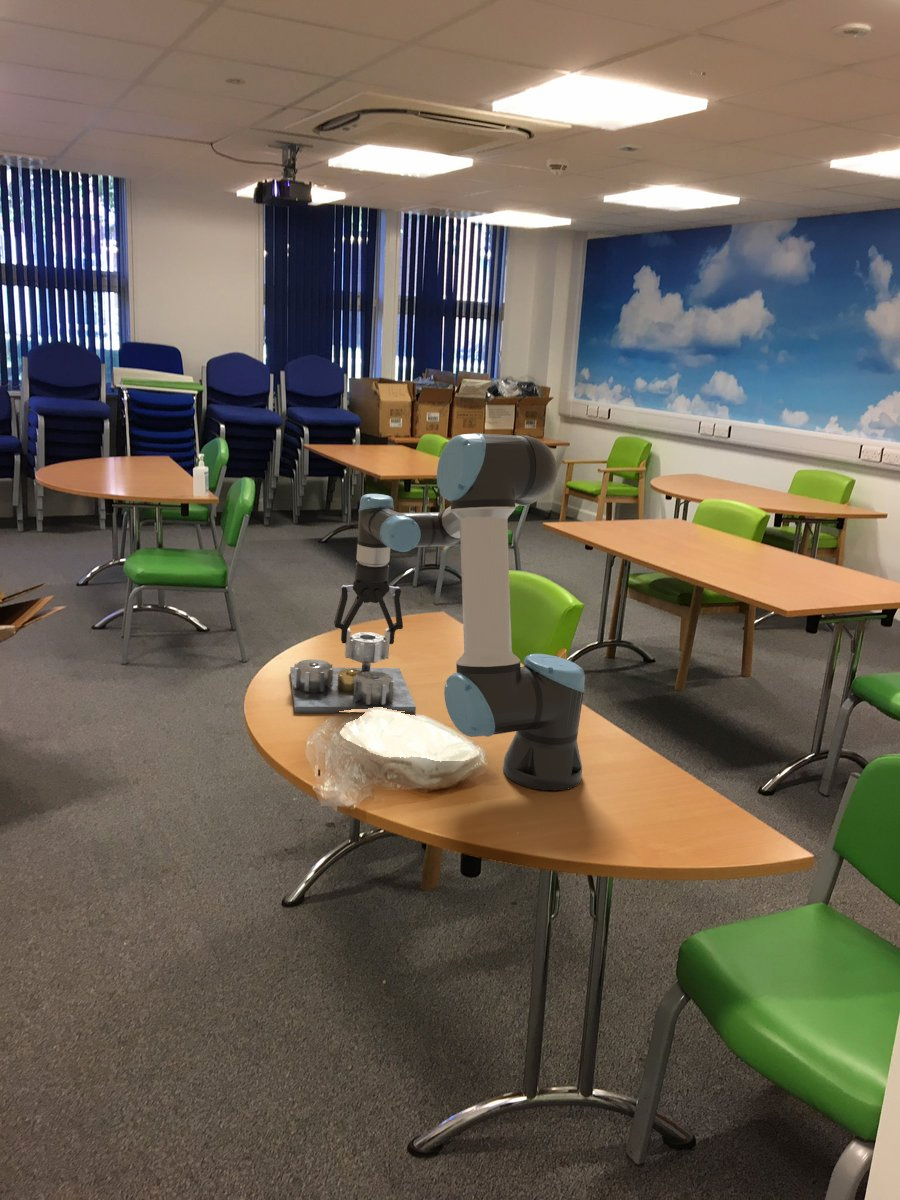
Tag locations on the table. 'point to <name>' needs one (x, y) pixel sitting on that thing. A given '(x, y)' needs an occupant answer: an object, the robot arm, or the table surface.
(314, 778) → the table surface
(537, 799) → the table surface
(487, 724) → the robot arm
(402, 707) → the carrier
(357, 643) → the planet gear
